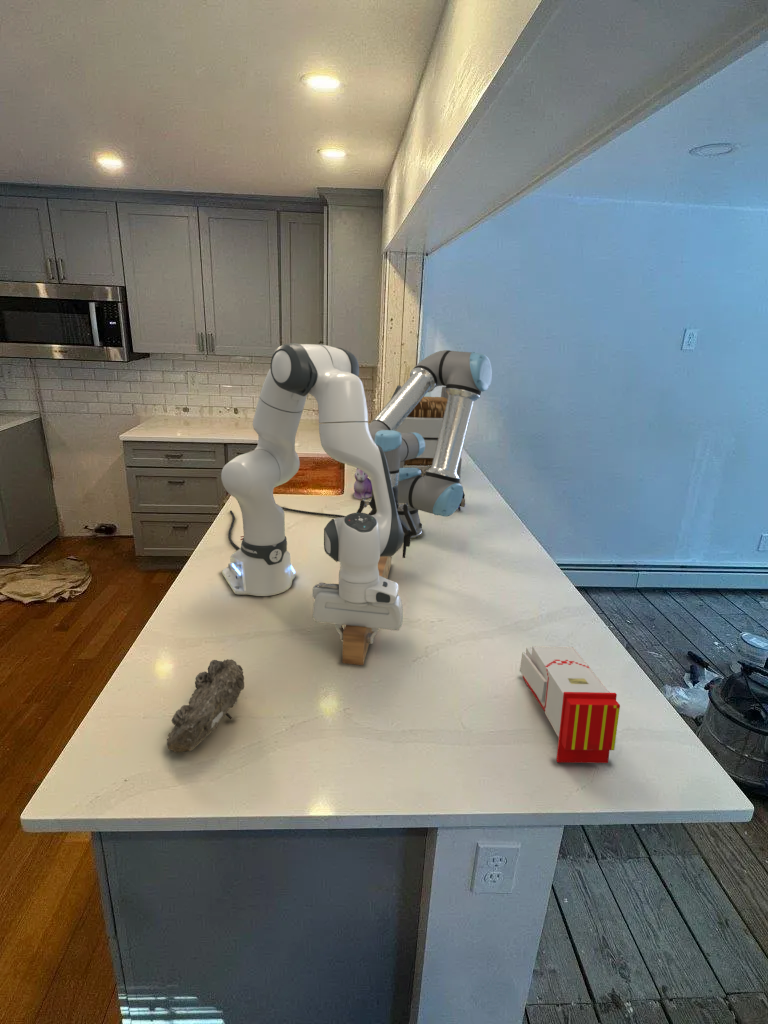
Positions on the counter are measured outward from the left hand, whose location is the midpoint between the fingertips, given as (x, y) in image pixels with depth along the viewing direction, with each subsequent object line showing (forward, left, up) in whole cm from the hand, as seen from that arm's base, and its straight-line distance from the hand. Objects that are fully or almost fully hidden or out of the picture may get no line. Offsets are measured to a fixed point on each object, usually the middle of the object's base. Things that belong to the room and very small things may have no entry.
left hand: (357, 640), depth 130 cm
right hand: (-29, +32, +3) cm, 43 cm away
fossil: (+1, -35, -3) cm, 35 cm away
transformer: (-101, +118, -3) cm, 155 cm away
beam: (-14, +16, -3) cm, 22 cm away
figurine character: (-57, +95, -3) cm, 111 cm away
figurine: (-88, +72, -3) cm, 114 cm away
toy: (+41, +19, -3) cm, 45 cm away
